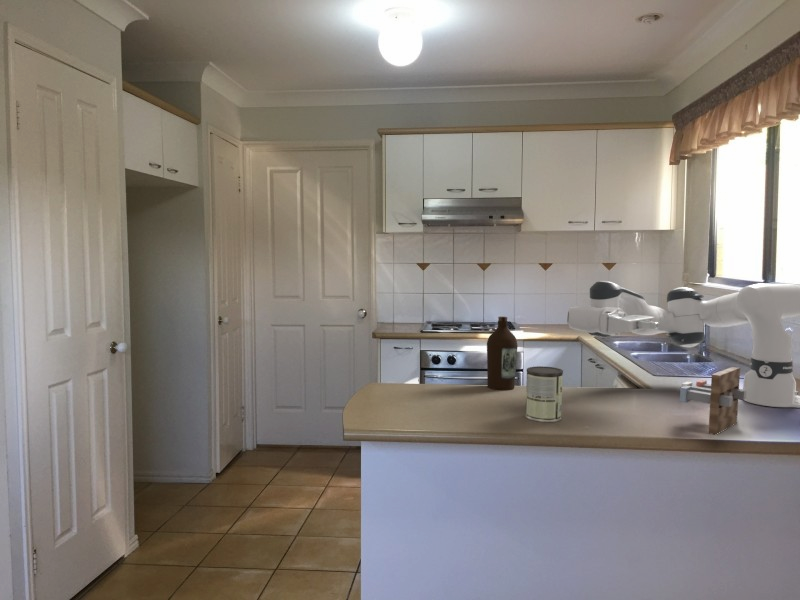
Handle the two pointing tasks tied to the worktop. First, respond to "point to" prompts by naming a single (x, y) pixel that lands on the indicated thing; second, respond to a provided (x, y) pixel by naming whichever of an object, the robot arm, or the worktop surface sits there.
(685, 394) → the blue-capped grey rod
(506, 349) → the olive oil
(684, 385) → the off-white plunger
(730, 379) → the walnut panel
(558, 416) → the coffee can
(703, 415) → the worktop surface
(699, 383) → the brick-red plunger
